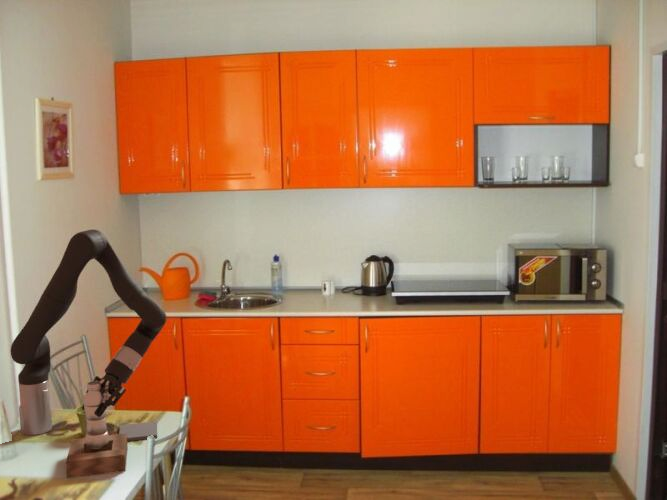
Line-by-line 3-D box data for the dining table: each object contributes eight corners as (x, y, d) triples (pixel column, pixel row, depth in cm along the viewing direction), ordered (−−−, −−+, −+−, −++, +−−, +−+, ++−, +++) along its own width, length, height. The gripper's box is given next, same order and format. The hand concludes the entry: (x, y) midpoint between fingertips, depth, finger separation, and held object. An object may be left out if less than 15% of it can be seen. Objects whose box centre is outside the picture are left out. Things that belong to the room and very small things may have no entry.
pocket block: (66, 478, 192) (65, 461, 191) (73, 454, 207) (72, 439, 207) (125, 471, 196) (124, 454, 195) (127, 448, 211) (126, 433, 211)
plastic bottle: (102, 452, 198) (98, 387, 195) (81, 451, 199) (77, 385, 196) (113, 443, 204) (110, 380, 201) (93, 442, 205) (89, 378, 202)
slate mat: (118, 442, 216) (118, 439, 216) (120, 427, 228) (120, 425, 228) (157, 437, 219) (156, 434, 219) (157, 423, 231) (156, 421, 231)
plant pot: (100, 439, 219) (99, 413, 218) (72, 439, 219) (70, 413, 218) (110, 427, 228) (109, 403, 227) (83, 427, 229) (81, 403, 227)
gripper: (102, 353, 208) (68, 401, 201) (129, 362, 199) (94, 412, 192) (118, 366, 213) (86, 412, 206) (145, 375, 204) (112, 424, 196)
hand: (90, 412), depth 199 cm, fingers closed on plastic bottle, 6 cm apart
